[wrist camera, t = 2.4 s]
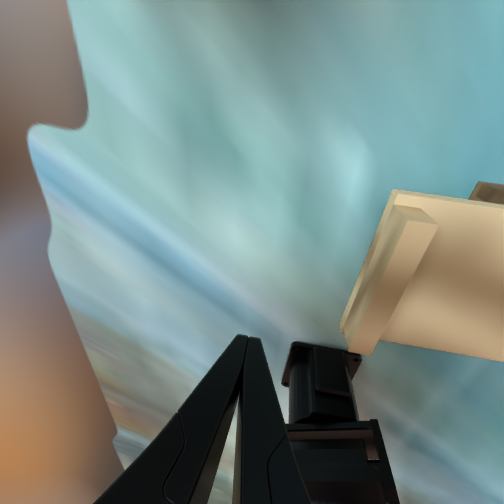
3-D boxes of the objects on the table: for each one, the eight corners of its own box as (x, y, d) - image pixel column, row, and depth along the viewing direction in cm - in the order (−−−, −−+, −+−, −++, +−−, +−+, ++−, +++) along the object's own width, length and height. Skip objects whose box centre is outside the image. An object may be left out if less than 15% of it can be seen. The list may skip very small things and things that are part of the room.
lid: (517, 356, 16) (551, 394, 14) (339, 324, 17) (345, 357, 15) (646, 225, 12) (724, 254, 10) (392, 188, 12) (413, 208, 10)
